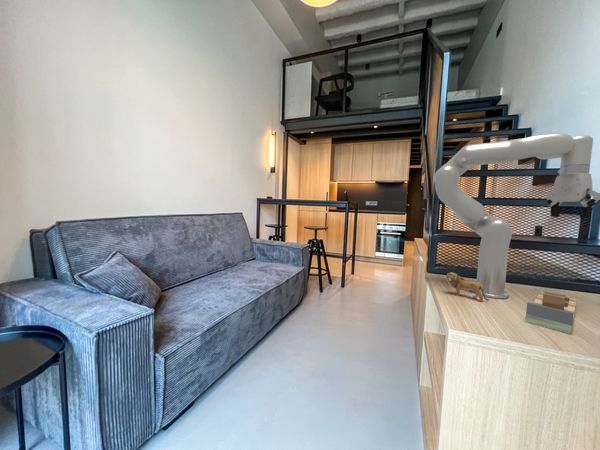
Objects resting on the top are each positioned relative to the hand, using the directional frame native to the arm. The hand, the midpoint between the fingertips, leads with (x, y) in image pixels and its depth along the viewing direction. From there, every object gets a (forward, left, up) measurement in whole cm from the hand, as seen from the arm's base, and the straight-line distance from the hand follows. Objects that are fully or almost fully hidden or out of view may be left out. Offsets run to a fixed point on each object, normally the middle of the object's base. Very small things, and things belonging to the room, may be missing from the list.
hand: (569, 217), depth 96 cm
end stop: (-19, -27, -30) cm, 45 cm away
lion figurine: (-34, -6, -33) cm, 48 cm away
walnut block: (-11, -15, -30) cm, 35 cm away
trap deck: (-10, -14, -33) cm, 37 cm away
